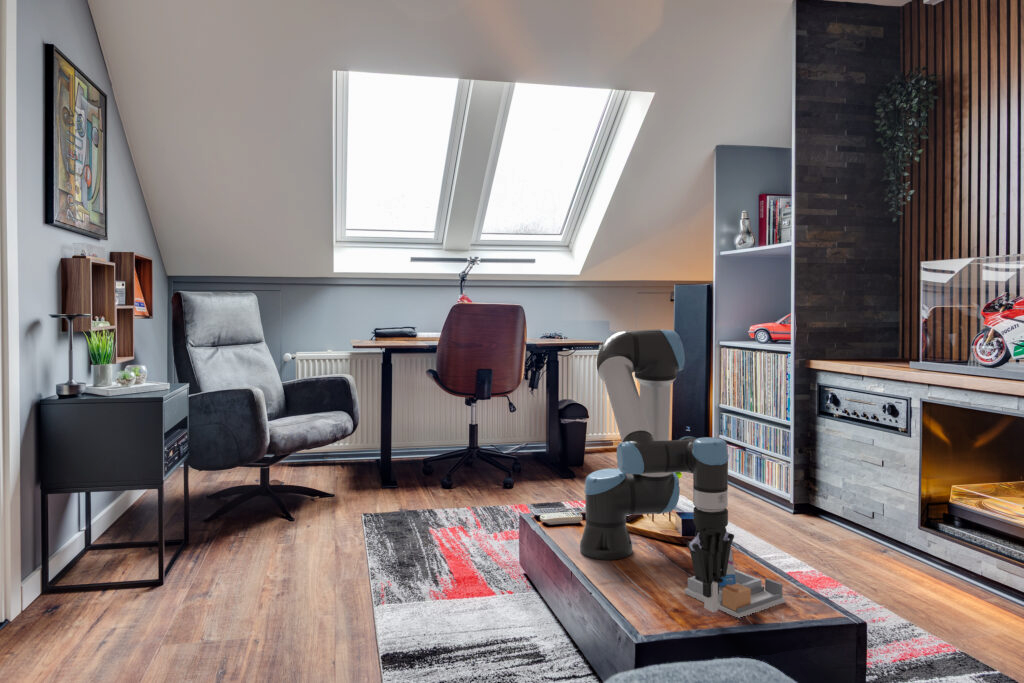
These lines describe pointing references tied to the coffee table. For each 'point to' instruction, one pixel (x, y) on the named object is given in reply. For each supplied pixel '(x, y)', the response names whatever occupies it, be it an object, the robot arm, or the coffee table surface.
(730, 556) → the ink box
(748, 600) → the brown block
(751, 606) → the housing
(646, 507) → the robot arm
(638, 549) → the coffee table surface
